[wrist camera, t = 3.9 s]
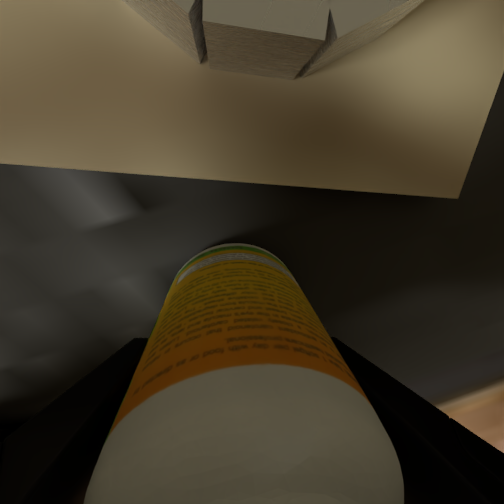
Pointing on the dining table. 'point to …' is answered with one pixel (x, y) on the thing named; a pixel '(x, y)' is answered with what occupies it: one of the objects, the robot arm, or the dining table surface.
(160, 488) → the supplement bottle
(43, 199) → the dining table surface
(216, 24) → the steel ring collar
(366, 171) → the birch base plate
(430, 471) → the robot arm
